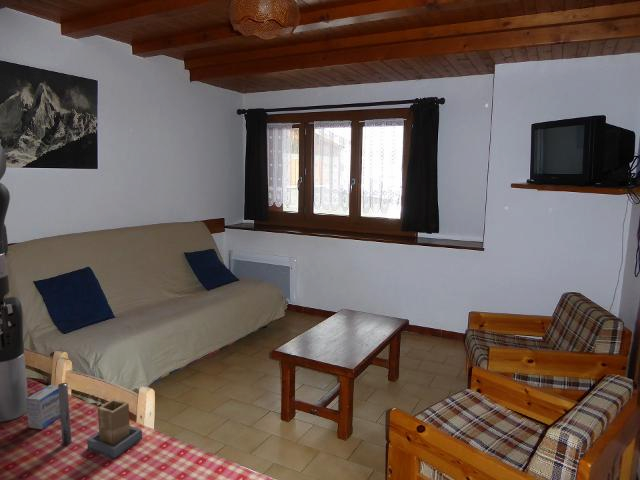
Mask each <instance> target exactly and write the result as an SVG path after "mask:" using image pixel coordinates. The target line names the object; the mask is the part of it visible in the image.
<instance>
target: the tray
mask: <svg viewBox="0 0 640 480" xmlns="http://www.w3.org/2000/svg"><path fill="white" fill-rule="evenodd" d="M141 440H143V430H142V429H141V428H137V427H133V426H131V425H130V436H129V437H128V438H126V439H125V440H123V441H122V442H120V443H119V444H118V445H116V446H115V447H113V446H110V445H108V444H105V443H102V442H100V439H99V431H98V432H97V433H95V434H94V435H92V436H90V437H89V438H88V439H86V441H87V444H86V445H87V449H88V450H90V451H93V452H95V453H98V454H100V455H103V456H106V457H109V458H111V459H113V460H115V459H116V458H118V457H119V456H120V455H122V454H123V453H125V452H127V450H129V449H131V448H132V447H133V446H134V445H136V444H137V443H138V442H140V441H141Z"/></svg>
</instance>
